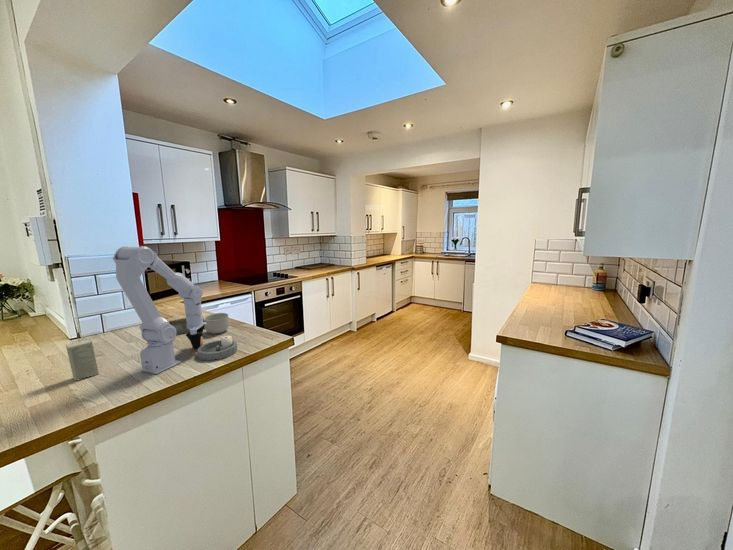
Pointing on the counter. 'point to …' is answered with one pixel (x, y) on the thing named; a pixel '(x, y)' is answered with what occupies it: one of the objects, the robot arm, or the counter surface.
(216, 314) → the teacup
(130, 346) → the counter surface
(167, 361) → the robot arm
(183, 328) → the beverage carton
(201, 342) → the bead terracotta
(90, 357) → the skincare box
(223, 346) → the bead cream
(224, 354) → the groove tray
